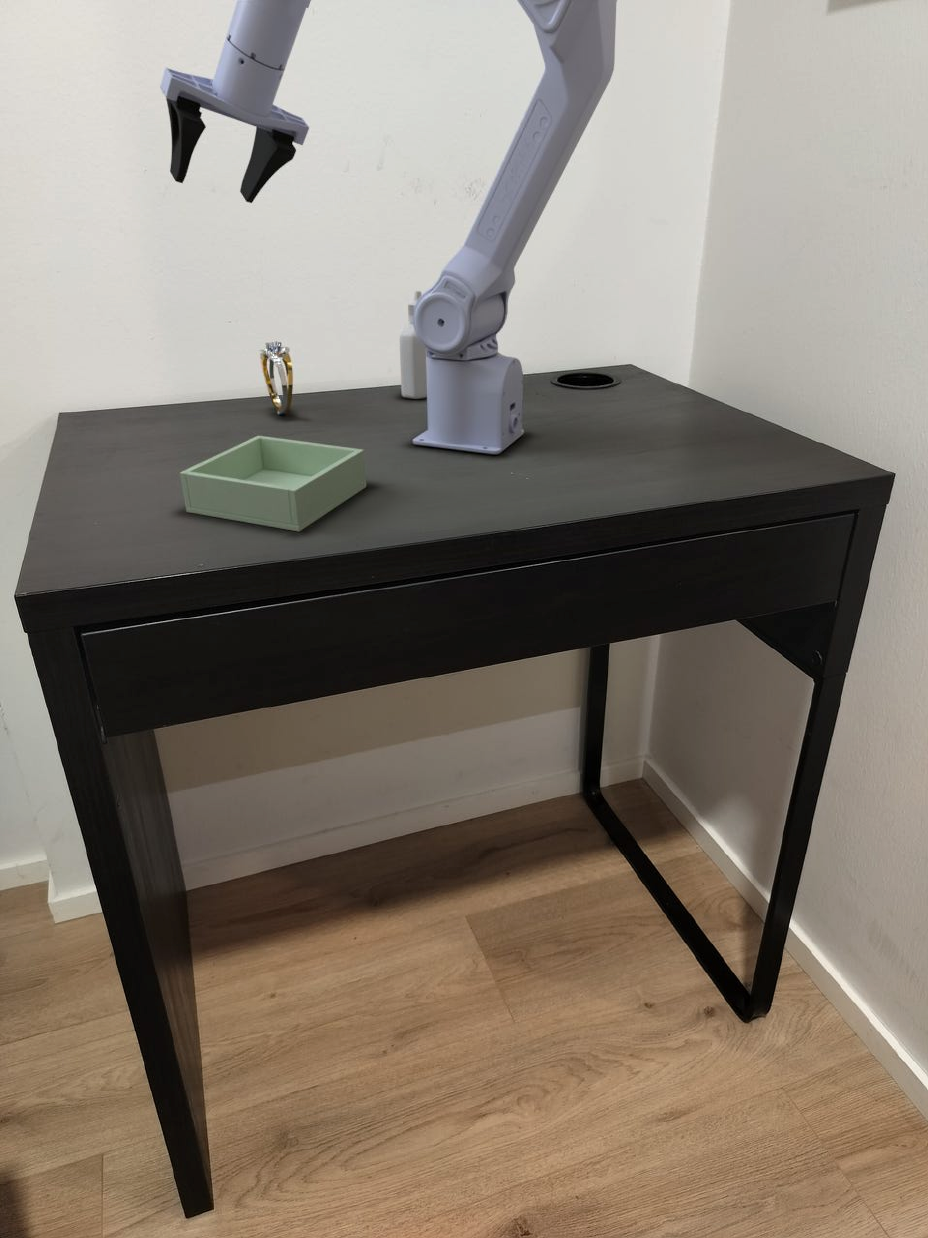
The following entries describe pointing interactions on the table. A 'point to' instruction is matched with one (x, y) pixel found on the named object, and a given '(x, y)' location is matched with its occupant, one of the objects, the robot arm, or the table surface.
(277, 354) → the ring
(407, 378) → the eye dropper bottle
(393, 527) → the table surface
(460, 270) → the robot arm
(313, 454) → the bin
